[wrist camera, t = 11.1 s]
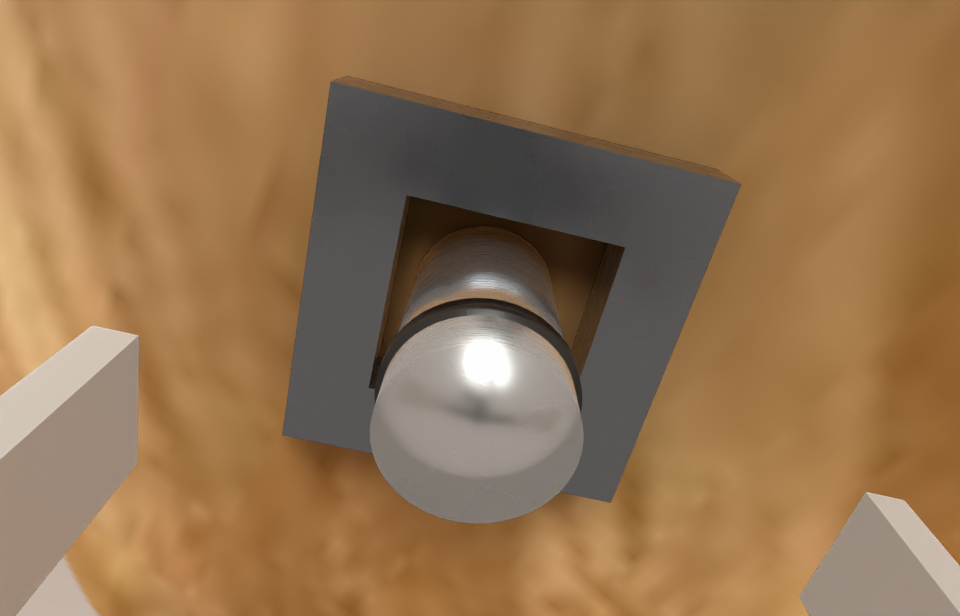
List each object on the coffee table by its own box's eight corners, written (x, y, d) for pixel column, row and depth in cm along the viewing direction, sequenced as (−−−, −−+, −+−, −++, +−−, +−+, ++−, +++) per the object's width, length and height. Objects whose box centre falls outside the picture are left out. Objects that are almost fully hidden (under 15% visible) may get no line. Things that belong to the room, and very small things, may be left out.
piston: (426, 205, 19) (384, 314, 12) (575, 241, 20) (622, 368, 12) (398, 339, 21) (346, 504, 14) (533, 369, 21) (553, 546, 14)
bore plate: (347, 76, 18) (330, 80, 16) (716, 169, 19) (741, 184, 17) (299, 401, 22) (282, 435, 20) (601, 464, 23) (610, 502, 21)
